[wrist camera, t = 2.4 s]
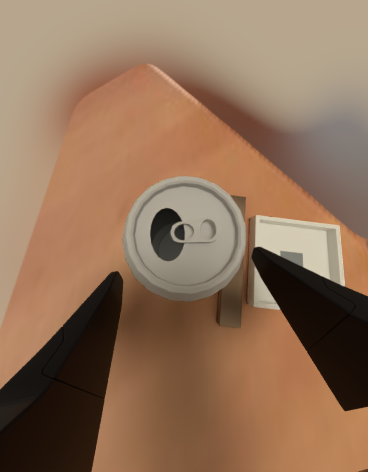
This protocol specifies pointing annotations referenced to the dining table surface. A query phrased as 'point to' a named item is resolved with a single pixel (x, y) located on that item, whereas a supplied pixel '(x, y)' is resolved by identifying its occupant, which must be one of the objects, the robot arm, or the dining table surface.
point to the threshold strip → (232, 289)
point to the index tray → (293, 251)
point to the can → (184, 238)
